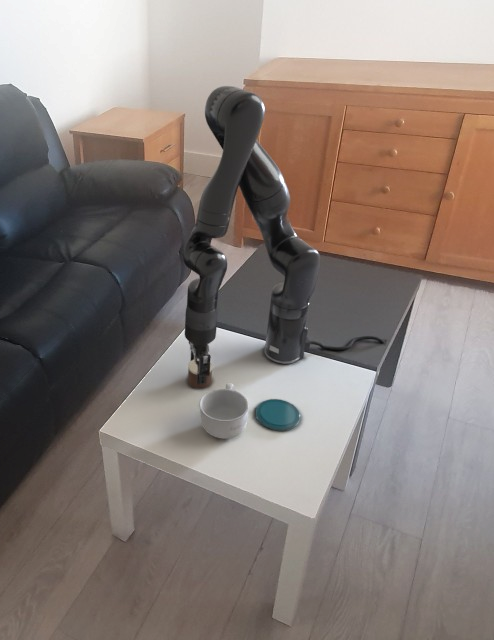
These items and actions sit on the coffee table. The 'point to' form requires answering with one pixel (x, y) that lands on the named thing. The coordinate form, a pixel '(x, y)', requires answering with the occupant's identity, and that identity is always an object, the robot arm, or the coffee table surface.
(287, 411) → the cake plate
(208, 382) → the cake
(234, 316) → the coffee table surface
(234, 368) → the coffee table surface
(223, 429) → the teacup
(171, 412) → the coffee table surface
